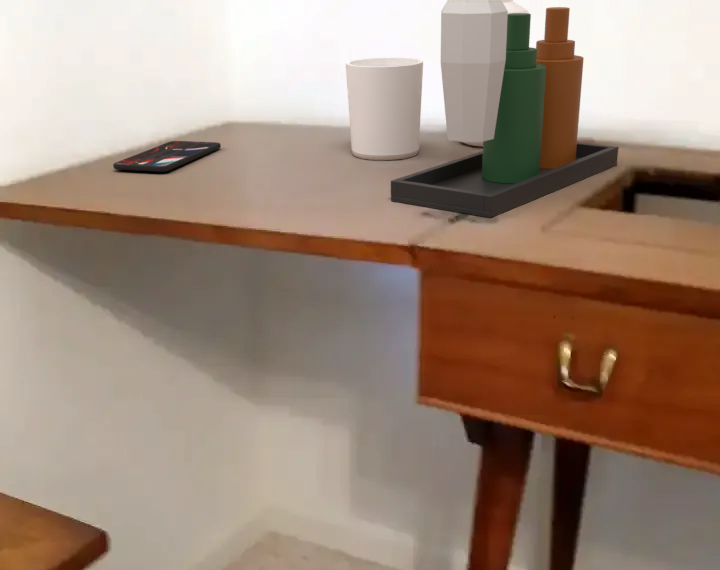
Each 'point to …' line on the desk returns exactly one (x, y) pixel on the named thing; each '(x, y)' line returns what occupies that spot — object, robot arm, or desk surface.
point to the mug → (384, 107)
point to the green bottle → (517, 110)
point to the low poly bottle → (472, 66)
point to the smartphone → (167, 156)
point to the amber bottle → (559, 90)
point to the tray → (484, 198)
